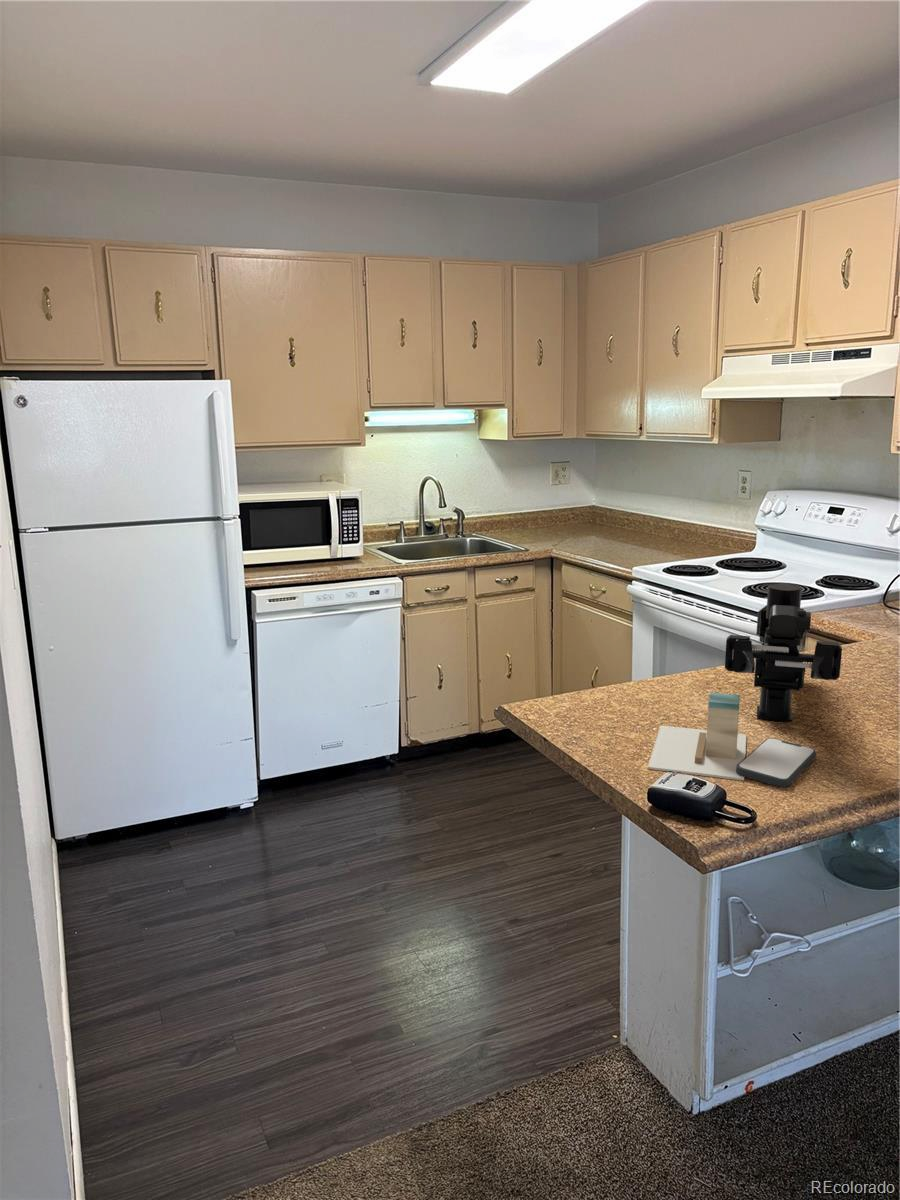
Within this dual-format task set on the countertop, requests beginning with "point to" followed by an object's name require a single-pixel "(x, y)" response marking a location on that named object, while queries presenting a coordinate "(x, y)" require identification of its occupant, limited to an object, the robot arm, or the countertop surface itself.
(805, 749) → the phone case
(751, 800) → the countertop surface
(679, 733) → the grey mat
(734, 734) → the birch block
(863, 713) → the countertop surface
